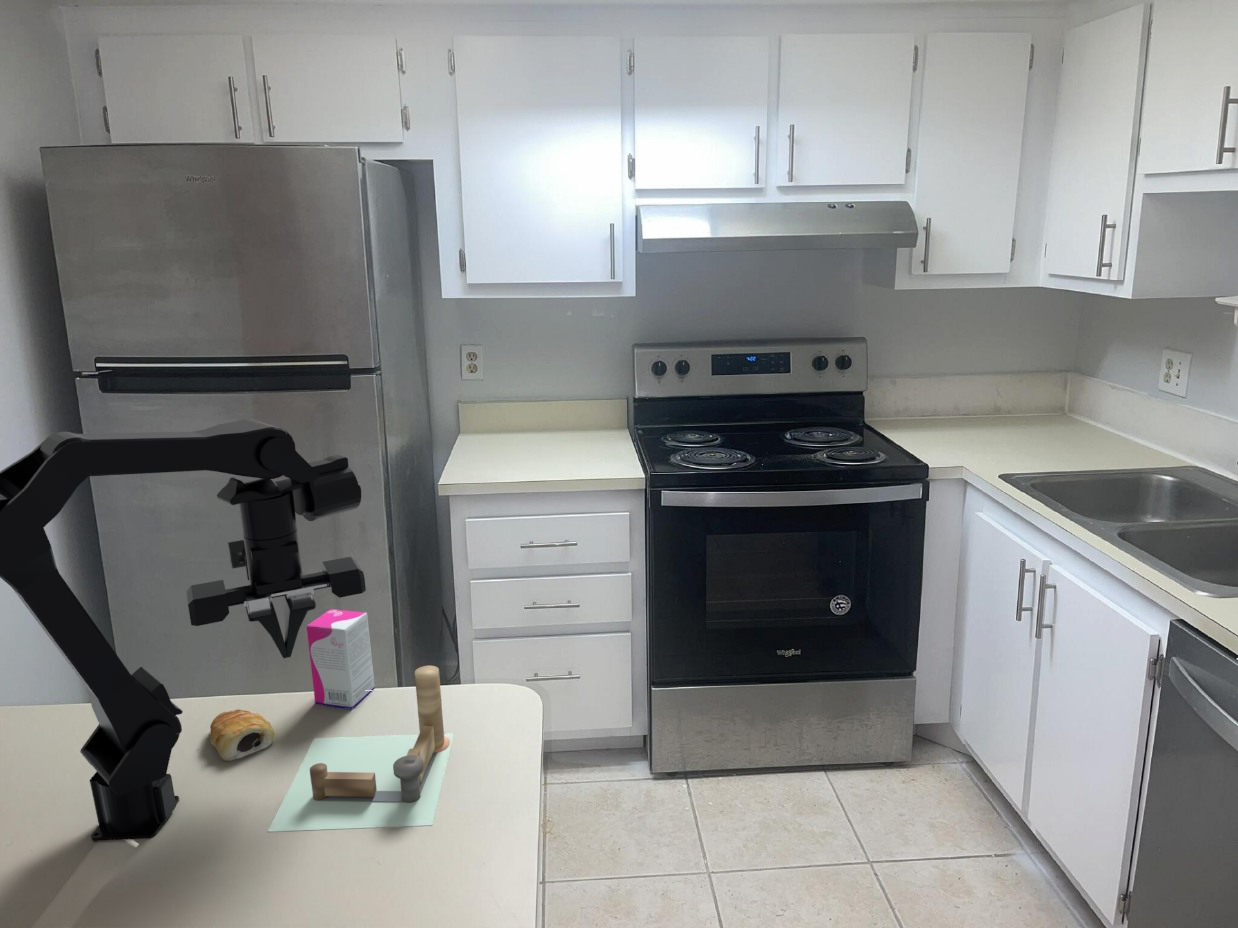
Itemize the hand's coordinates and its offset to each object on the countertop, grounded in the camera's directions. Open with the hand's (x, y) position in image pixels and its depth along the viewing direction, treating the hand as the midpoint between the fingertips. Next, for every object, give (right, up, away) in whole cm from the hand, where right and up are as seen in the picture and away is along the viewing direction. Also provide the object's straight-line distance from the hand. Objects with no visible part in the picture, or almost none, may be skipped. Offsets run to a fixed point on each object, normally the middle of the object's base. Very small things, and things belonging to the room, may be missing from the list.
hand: (286, 656), depth 104 cm
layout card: (+11, -13, -4) cm, 17 cm away
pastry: (-7, -12, +4) cm, 15 cm away
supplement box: (+3, -9, +14) cm, 17 cm away
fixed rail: (+11, -14, -7) cm, 19 cm away
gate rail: (+16, -12, -2) cm, 21 cm away
